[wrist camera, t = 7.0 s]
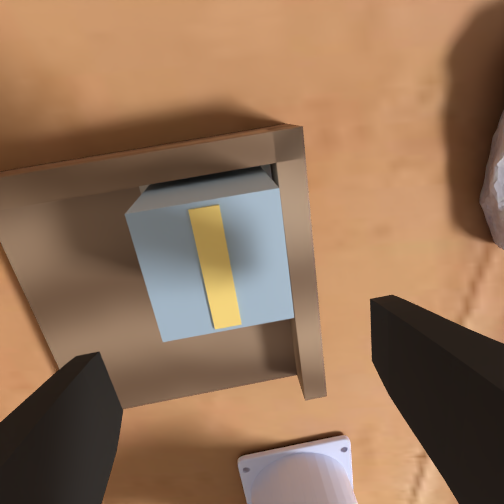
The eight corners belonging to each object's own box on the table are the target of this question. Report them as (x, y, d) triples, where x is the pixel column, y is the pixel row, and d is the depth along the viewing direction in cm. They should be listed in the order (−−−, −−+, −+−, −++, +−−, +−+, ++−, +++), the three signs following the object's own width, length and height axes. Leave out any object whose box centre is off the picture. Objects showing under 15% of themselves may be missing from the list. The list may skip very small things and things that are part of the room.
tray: (311, 357, 22) (326, 396, 19) (88, 401, 21) (68, 448, 18) (286, 123, 17) (302, 126, 14) (-13, 173, 16) (-63, 188, 13)
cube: (273, 264, 18) (294, 319, 13) (175, 281, 18) (162, 344, 13) (259, 165, 16) (279, 188, 11) (150, 183, 16) (123, 214, 11)
